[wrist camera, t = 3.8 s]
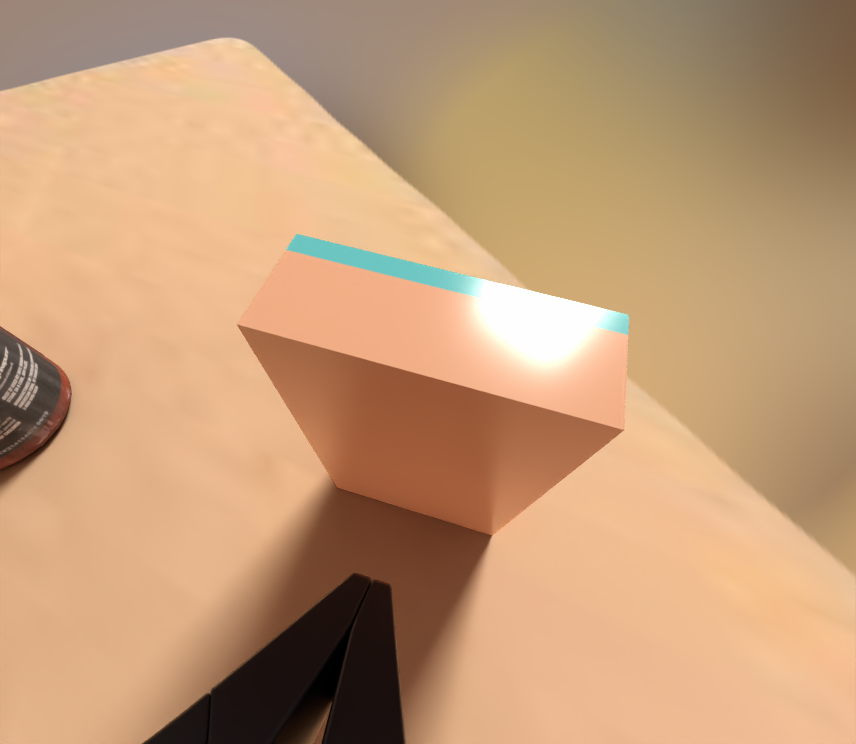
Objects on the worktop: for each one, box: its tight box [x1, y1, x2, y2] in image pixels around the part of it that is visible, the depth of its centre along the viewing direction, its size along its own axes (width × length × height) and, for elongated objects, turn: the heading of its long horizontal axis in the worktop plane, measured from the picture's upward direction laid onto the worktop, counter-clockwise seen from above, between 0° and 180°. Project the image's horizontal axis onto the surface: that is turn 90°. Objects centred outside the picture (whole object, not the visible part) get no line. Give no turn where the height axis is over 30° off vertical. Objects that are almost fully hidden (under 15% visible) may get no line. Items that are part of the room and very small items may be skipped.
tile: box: [237, 234, 629, 535], centre depth 13 cm, size 2×7×12 cm, turn 74°
